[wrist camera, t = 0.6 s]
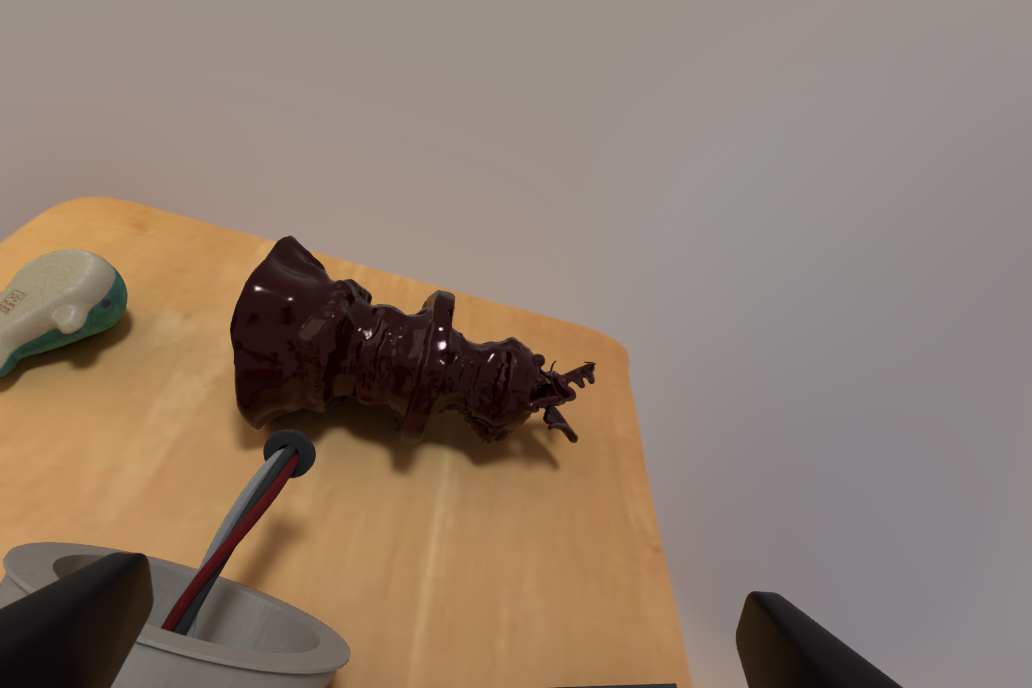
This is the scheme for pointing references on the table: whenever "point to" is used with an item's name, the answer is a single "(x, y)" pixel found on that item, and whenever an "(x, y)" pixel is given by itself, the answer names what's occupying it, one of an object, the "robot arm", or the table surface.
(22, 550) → the light fixture
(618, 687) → the switch block
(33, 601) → the robot arm
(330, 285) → the figurine
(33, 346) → the whale figurine
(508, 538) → the table surface
